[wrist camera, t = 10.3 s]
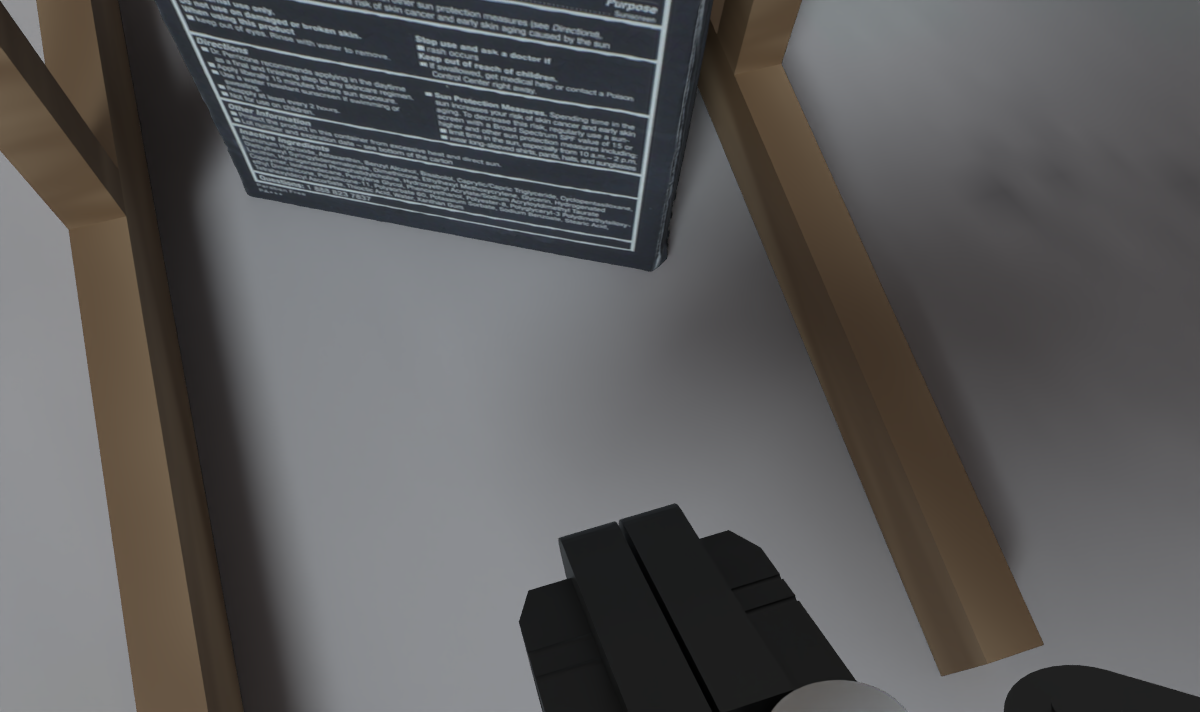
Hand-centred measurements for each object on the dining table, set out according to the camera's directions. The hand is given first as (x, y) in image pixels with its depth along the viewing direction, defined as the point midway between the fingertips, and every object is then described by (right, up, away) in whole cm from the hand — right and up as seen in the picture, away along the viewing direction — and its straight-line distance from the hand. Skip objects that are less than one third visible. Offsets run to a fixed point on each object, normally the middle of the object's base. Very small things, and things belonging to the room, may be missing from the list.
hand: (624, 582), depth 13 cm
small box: (-3, +8, +14) cm, 17 cm away
